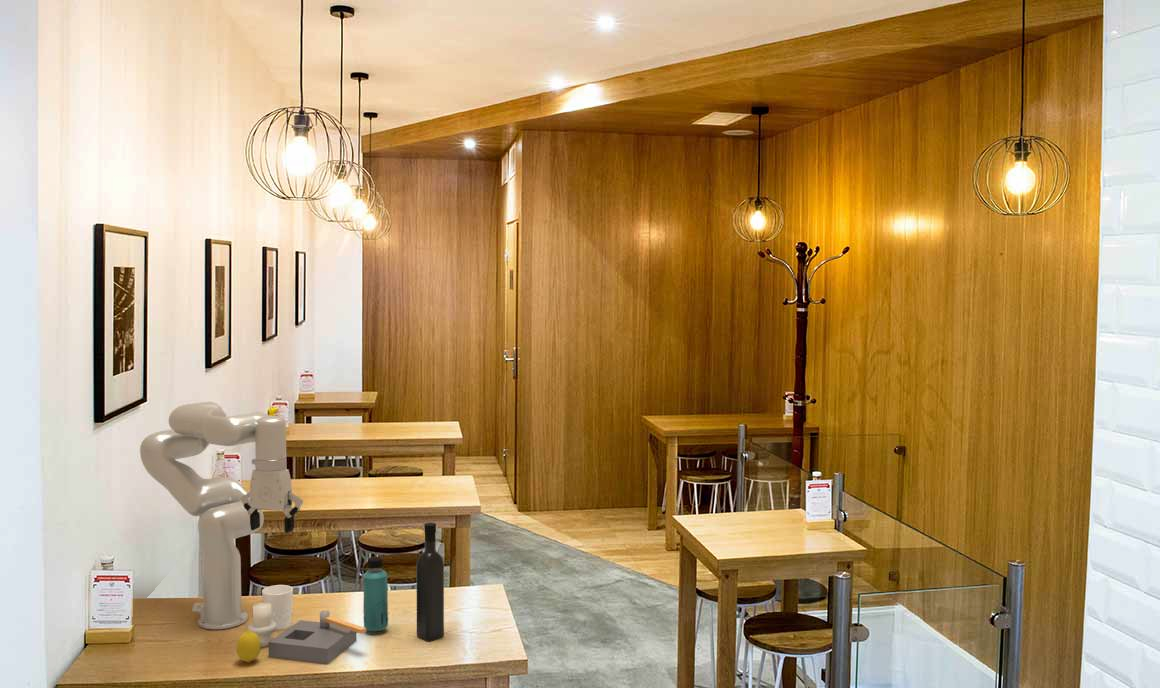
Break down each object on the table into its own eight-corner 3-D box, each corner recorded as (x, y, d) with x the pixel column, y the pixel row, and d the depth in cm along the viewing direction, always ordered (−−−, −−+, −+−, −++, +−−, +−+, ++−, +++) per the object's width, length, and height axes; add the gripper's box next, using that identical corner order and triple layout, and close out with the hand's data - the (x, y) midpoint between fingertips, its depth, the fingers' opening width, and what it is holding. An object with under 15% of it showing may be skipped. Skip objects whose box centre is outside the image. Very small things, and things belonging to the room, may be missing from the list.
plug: (243, 648, 237) (242, 608, 236) (258, 638, 244) (257, 599, 243) (267, 651, 236) (266, 611, 235) (281, 640, 242) (281, 602, 241)
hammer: (367, 638, 234) (367, 623, 234) (359, 641, 232) (359, 626, 232) (325, 624, 243) (325, 610, 243) (317, 627, 241) (317, 612, 241)
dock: (268, 657, 232) (268, 642, 231) (300, 634, 246) (300, 620, 246) (327, 664, 228) (327, 648, 228) (356, 641, 242) (356, 626, 242)
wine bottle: (414, 636, 246) (414, 523, 244) (432, 630, 250) (432, 519, 248) (428, 642, 242) (428, 528, 240) (445, 636, 246) (445, 524, 244)
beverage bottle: (382, 637, 245) (382, 562, 243) (358, 635, 246) (358, 560, 245) (392, 628, 251) (392, 555, 250) (369, 626, 253) (368, 553, 251)
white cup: (299, 623, 254) (299, 587, 253) (278, 633, 247) (278, 596, 246) (277, 618, 257) (276, 583, 256) (256, 628, 250) (255, 591, 249)
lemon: (240, 658, 231) (239, 626, 230) (263, 658, 231) (263, 626, 231) (234, 668, 225) (233, 635, 225) (257, 667, 226) (257, 635, 225)
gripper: (232, 465, 239) (233, 531, 241) (293, 469, 235) (294, 536, 237) (249, 459, 247) (250, 524, 248) (309, 463, 243) (309, 528, 244)
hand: (272, 530), depth 242 cm, fingers open, 9 cm apart
